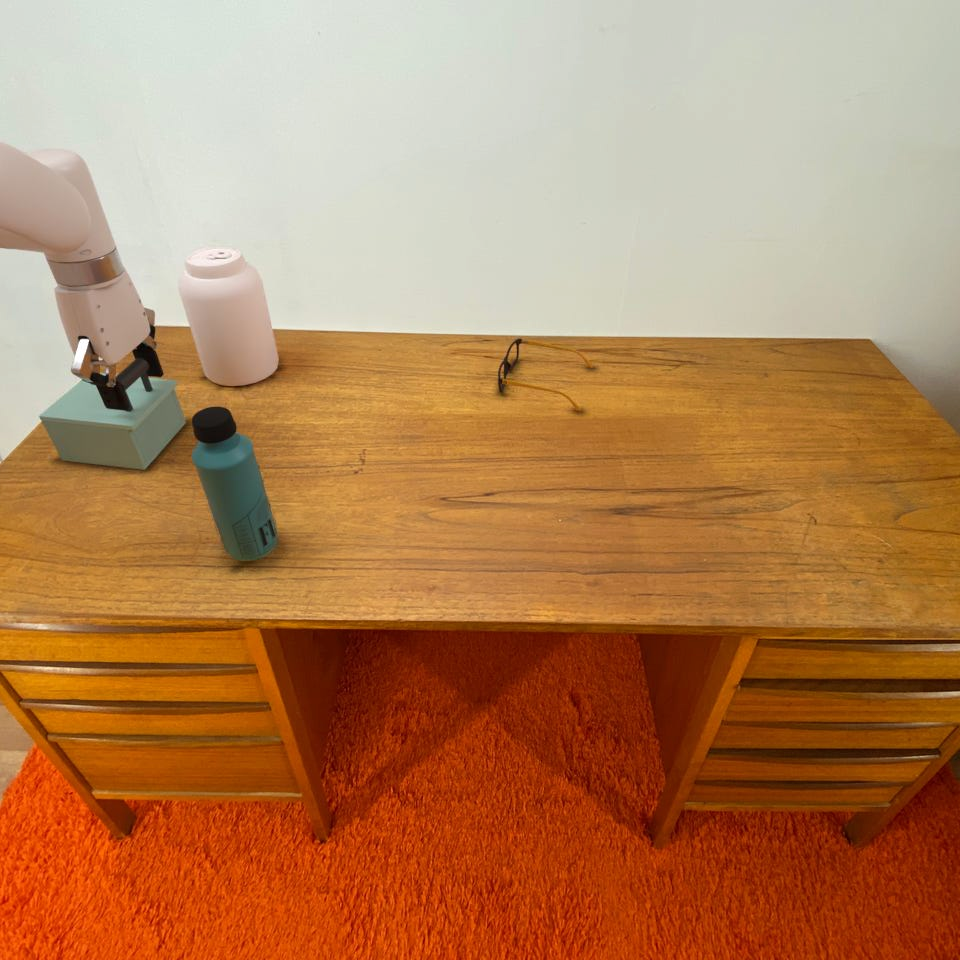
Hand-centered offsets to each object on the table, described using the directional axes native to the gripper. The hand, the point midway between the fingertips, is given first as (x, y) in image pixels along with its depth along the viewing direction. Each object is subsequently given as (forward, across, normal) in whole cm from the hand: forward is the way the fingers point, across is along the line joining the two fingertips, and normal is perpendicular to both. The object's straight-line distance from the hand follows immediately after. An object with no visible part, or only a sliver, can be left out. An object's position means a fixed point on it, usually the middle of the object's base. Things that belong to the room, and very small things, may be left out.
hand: (136, 390), depth 88 cm
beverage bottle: (+9, +18, +23) cm, 31 cm away
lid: (+2, 0, -4) cm, 5 cm away
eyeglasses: (+9, -27, +55) cm, 62 cm away
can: (+9, -22, +3) cm, 24 cm away
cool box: (+9, 0, -5) cm, 10 cm away
